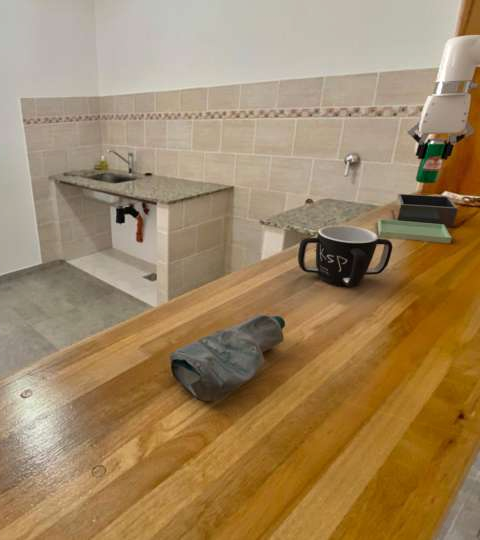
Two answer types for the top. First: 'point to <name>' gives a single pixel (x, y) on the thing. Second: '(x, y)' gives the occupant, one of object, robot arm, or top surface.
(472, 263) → the top surface
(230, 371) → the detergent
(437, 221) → the dark grey open box
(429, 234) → the tray
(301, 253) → the mug
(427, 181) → the soda can
